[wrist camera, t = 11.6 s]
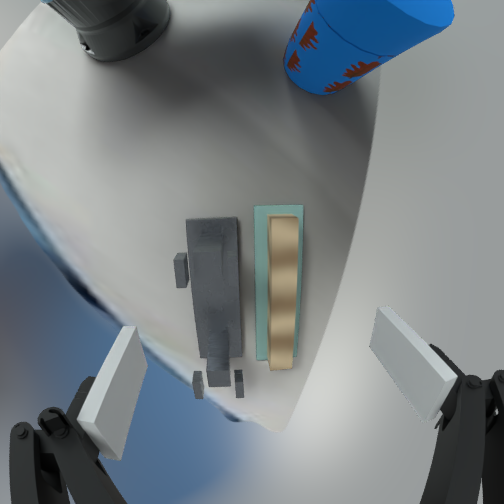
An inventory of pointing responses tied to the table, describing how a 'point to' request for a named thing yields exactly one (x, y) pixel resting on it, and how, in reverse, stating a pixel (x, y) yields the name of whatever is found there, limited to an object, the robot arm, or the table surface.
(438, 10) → the thermos
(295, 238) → the rail
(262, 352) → the mat
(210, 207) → the table surface
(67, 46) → the table surface
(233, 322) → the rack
